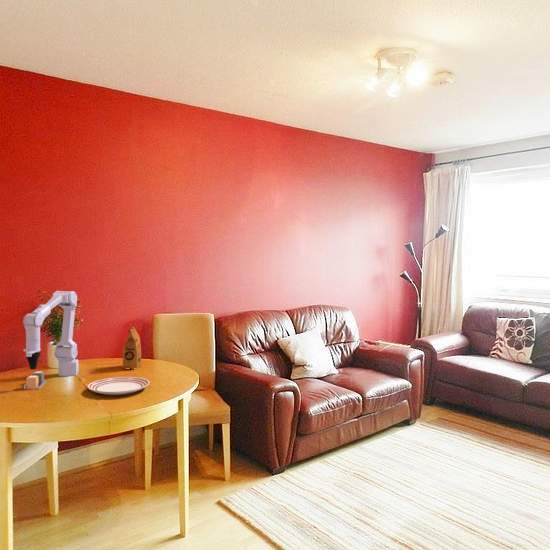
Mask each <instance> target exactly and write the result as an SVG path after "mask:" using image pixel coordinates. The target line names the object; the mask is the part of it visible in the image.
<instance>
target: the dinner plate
mask: <svg viewBox="0 0 550 550" xmlns="http://www.w3.org/2000/svg"><path fill="white" fill-rule="evenodd" d="M149 385H150V381H149V380H148V379H145V378H142V377H133V376H119V377H116V376H115V377H108V378H104V379H103V378H102V379H98V380H94V381H92V382H90V383H89V384H88V385H87V388H88V389H89V390H90V391H91V392H94V393H98V394H101V395H105V396H122V395H129V394H130V395H131V394H133V393H135V392H138V391H141V390H143V389H144V388H146V387H147V386H149Z"/></svg>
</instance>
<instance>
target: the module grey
mask: <svg viewBox="0 0 550 550" xmlns="http://www.w3.org/2000/svg"><path fill="white" fill-rule="evenodd" d="M31 376H38V384H41V383H42V382H43V381H44V380H45V371H42V370H40V371H38V370H37V371H34V372H33V373H32V375H31Z"/></svg>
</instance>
